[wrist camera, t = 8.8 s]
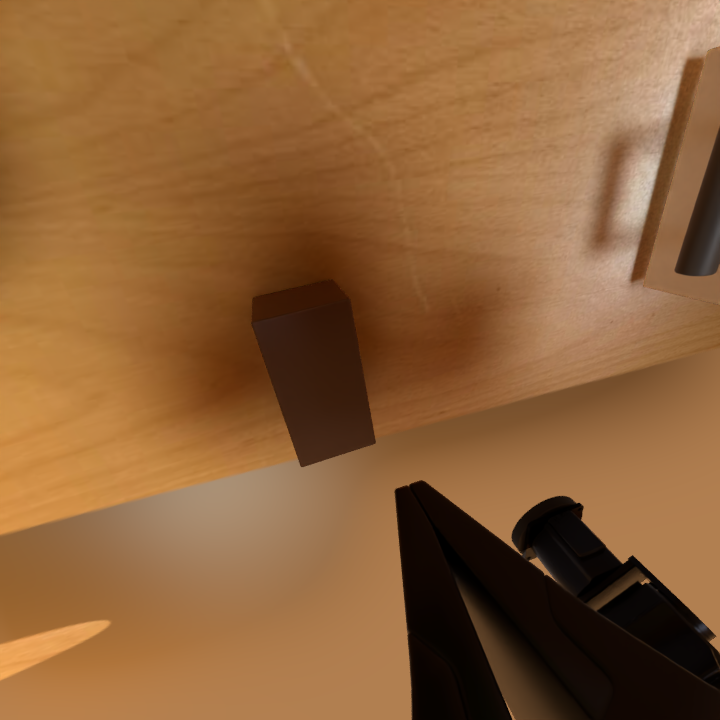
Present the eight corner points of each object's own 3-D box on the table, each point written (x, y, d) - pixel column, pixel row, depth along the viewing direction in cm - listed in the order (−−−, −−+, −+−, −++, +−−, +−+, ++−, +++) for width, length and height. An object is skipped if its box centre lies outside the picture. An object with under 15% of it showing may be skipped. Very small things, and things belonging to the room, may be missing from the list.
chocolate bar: (333, 278, 16) (350, 298, 13) (358, 406, 20) (376, 444, 17) (251, 297, 16) (250, 322, 13) (294, 425, 19) (301, 468, 16)
